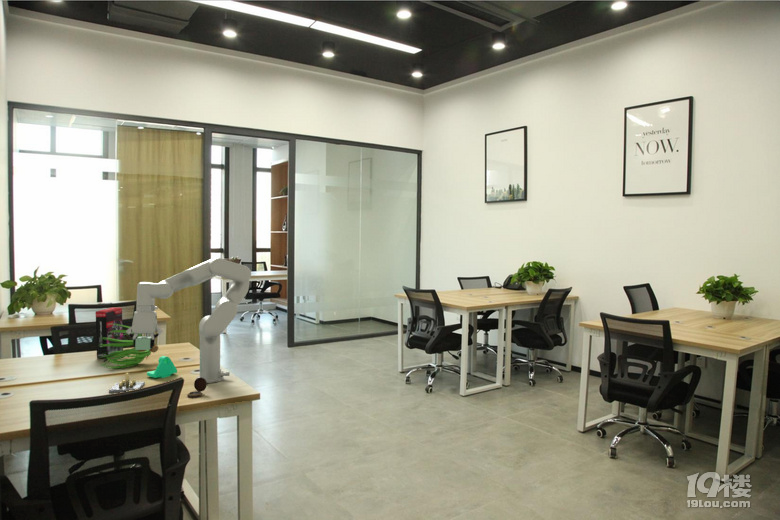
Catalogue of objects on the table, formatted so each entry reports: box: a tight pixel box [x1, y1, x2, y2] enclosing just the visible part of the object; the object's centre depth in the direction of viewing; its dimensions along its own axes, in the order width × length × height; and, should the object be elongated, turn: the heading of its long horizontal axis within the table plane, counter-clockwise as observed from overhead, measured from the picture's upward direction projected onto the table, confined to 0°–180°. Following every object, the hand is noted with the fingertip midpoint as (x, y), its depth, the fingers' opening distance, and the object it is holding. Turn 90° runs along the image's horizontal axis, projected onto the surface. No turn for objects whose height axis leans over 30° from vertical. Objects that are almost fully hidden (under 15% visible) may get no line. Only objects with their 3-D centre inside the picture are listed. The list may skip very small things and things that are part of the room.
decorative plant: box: [99, 324, 159, 370], centre depth 271 cm, size 26×25×30 cm
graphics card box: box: [95, 307, 124, 360], centre depth 294 cm, size 17×7×27 cm, turn 179°
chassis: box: [108, 372, 146, 394], centre depth 231 cm, size 12×12×7 cm
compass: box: [186, 377, 208, 399], centre depth 222 cm, size 8×8×7 cm
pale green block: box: [135, 336, 151, 350], centre depth 234 cm, size 6×6×5 cm
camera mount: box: [146, 355, 178, 379], centre depth 253 cm, size 12×8×10 cm, turn 147°
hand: (143, 347), depth 234 cm, fingers closed on pale green block, 6 cm apart
